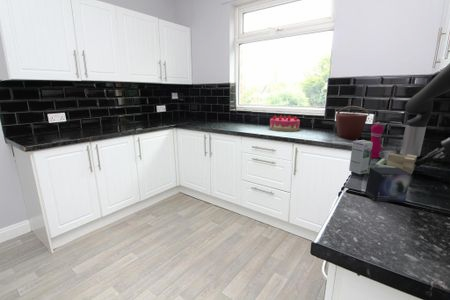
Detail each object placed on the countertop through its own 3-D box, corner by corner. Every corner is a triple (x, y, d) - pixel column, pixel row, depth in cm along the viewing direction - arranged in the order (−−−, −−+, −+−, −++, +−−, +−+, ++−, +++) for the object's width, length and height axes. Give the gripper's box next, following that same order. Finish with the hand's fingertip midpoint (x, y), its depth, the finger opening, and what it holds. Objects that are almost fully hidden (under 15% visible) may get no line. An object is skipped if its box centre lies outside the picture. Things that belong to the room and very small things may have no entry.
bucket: (372, 139, 183) (377, 107, 177) (350, 141, 176) (355, 107, 170) (346, 134, 206) (350, 105, 199) (326, 135, 198) (330, 105, 192)
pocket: (382, 162, 123) (383, 157, 122) (400, 165, 118) (401, 161, 117) (374, 169, 112) (375, 164, 112) (393, 173, 107) (394, 167, 107)
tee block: (389, 165, 119) (391, 151, 117) (413, 169, 112) (417, 155, 110) (384, 169, 112) (387, 155, 110) (411, 175, 105) (414, 160, 103)
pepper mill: (362, 155, 136) (367, 121, 131) (370, 154, 139) (376, 120, 134) (374, 158, 130) (380, 122, 125) (382, 157, 132) (389, 122, 128)
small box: (374, 202, 78) (380, 173, 76) (363, 194, 85) (368, 166, 82) (406, 202, 78) (412, 173, 76) (392, 194, 85) (398, 167, 82)
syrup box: (359, 174, 104) (364, 143, 101) (348, 170, 110) (352, 140, 106) (368, 173, 107) (373, 142, 103) (356, 169, 112) (361, 139, 108)
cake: (266, 127, 240) (266, 114, 237) (292, 126, 243) (293, 114, 240) (274, 131, 213) (275, 117, 210) (304, 131, 216) (305, 117, 213)
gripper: (452, 133, 102) (411, 155, 113) (452, 137, 92) (407, 160, 104) (467, 147, 99) (423, 168, 111) (467, 153, 90) (420, 175, 101)
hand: (415, 164), depth 107 cm, fingers closed
